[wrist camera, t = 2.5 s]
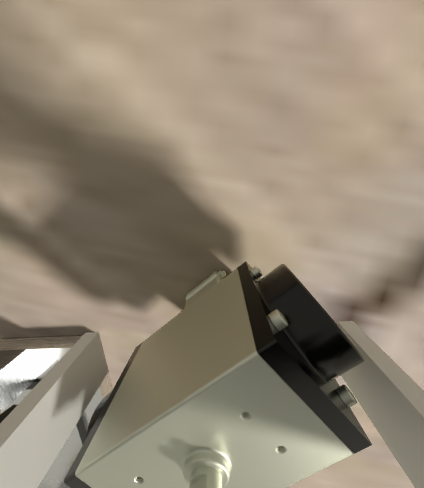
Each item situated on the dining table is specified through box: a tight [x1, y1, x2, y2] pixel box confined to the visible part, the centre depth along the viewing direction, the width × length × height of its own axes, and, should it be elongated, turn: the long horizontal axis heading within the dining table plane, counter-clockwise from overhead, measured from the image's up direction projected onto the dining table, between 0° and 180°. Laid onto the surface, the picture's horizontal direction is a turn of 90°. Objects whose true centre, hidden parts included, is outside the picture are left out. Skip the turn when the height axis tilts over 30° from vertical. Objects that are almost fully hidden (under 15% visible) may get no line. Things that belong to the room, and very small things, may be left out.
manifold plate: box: [0, 336, 113, 488], centre depth 18 cm, size 23×14×7 cm, turn 4°
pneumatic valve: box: [64, 262, 372, 488], centre depth 11 cm, size 6×12×12 cm, turn 131°
